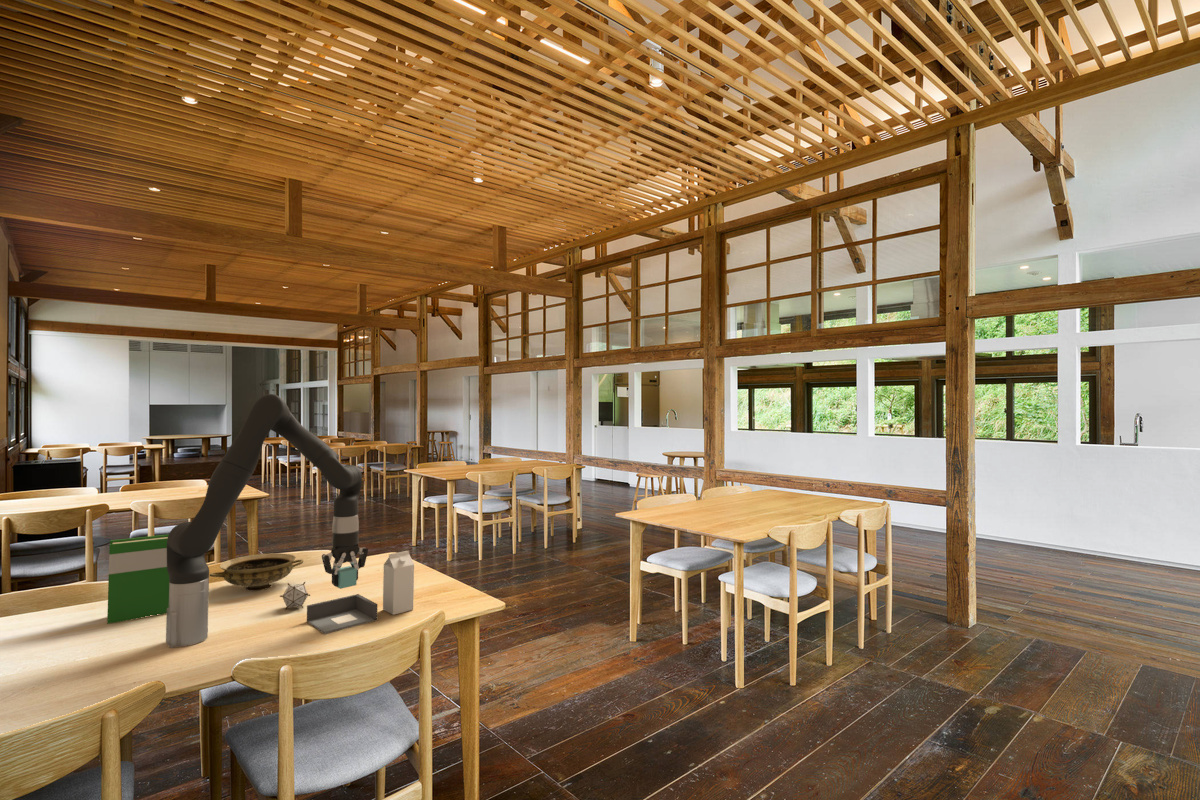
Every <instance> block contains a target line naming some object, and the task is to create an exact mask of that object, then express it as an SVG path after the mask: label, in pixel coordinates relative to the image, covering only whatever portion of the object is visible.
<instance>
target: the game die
mask: <svg viewBox="0 0 1200 800" xmlns="http://www.w3.org/2000/svg"><path fill="white" fill-rule="evenodd" d="M286 585H287V587H286V589H285V591H284V592H283V594H282V595H281V594H280V595H279V597H280V598H282V599H283V602H284V604H285V606H286V607H285V611H286V610H288V608H299V607H301V608H302V609H304V604H305V602H306V600H307V598H308V597H310V596H311V594H309V593H308V591H307V589H306V587H305V585H306V581H304V582H303V583H299V584H290V583H289V582H288V583H287V584H286Z"/></svg>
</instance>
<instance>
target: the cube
mask: <svg viewBox="0 0 1200 800" xmlns="http://www.w3.org/2000/svg"><path fill="white" fill-rule="evenodd" d="M338 575H339V577H338V586H337V587H336V588H338V589H340V590H341V589H346V588H350V587H355V586H357V581H358V580H357V569H355V568H353V567H351V565H348V566H347V565H346V566H343V567H341V568H340V569H339V572H338Z"/></svg>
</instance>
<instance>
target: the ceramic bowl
mask: <svg viewBox="0 0 1200 800" xmlns="http://www.w3.org/2000/svg"><path fill="white" fill-rule="evenodd" d="M303 563H304V559H302V558H300V559H297V558H296V556H295V555H293V554H289V553H282V552H281V553H280V552H279V553H278V552H277V553H276V552H275V553H274V552H271V553H257V554H250V555H245V556H239V557H236V558H232V559H228V560H226V561H224V562H222V563H220V564H219V568H220V569H221V570H223V571H221V572H219V571H218V572H211V573H209V577H213V578H222V579H224V580H225V582H227V583H229V584H231V585H233V586H234V585H235V586H239V587H246V588H245V590H246V591H249V592H250V591H252V592H253V591H254V592H256V591H263V590H267V589H269V588H271V587H272V584H273V583H277V582H278V581H280V580H282V579H284V578H286V577H288V575H289V574H291V572H292V571H293V568H295V567H297V566H300V565H302V564H303Z"/></svg>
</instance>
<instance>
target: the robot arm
mask: <svg viewBox="0 0 1200 800" xmlns="http://www.w3.org/2000/svg"><path fill="white" fill-rule="evenodd" d="M248 413H249V414H248V415H247V418H246V419H245V422H244V424H243V425H242V427H241V429H240V431H239V433H238V434H237V435H236V437H235V439H234V440H233V442H232V443H231V445H230V446H229V448H228V450H227V451H226V452H225V454H224V456H223V457H222V458H221V460H220V462H219V463H218V464H217V466H216V468H215V469H214V471H213V473H212V474H211V477H210V480H209V481H208V482H209V483H208V486H207V489H206V493H205V498H204V500H203V503H202V505H201V507H200V509H198V512H197V513H196V514H195V516H194V518H193V519H192V520H191V521H184V522H180V523H178V524H177V525H175V526H174V527H173V528H172V529H171V530H170V531H169V535H168V534H167V535H168V539H167V571H168V574H169V608H167V614H166V619H165V622H166V623H165V625H166V626H165V643H166V645H167V646H168V647H169V648H170V649H171V648H176V647H177V648H178V647H179V648H180V647H188V646H191V645H192V646H193V645H197V644H199V643H201V642H203V641H205V640H206V639H208V635H209V634H208V632H209V628H208V627H209V596H210V595H209V593H210V592H209V590H210V586H209V585H210V568H209V565H208V564H207V562H206V561H207V560H206V558H205V557H206V556H205V554H206V553H208V552H209V551H210V550H211V548H212V547H213V545H214V543H215V541H216V539H217V538H218V535H219V533H220V531H221V528H222V526H223V525H224V522H225V520H226V519H227V516H228V515H229V513H230V511H231V510H232V509H233V506H234V505H235V503H236V502H237V500H238V498H239V496H241V493H242V492H243V490H244V489H245V487H246V485H247V484H248V482H249V481H250V479H251V477H252V476H253V474H254V472H255V471H256V468H257V466H258V464H259V463H258V462H259V460H260V456H261V451H262V448H263V446H264V443H265V440H266V438H267V436H268V435H269V433H270V432H271V431H273V432H275V433H276V434H277V435H279V436H281V438H283V439H285V440H286V441H287V442H289V443H290V444H291V445H292V446H293V447H294V448H295V449H297V451H298V452H299V453H301V455H302V456H303V457H304V458H305V459H306V460H308V462H310V463H311V464H312V465H313V466H314V467H316V468H317V469H318V470H319V471H320V473H321V475H322V476H323V478H324V479H325V480H326V481H327V483H328V484H329V485H330V486H332V487H333V488H335V489H337V490H339V494H338V496H336V498H335V499H334V501H333V518H332V528H331V530H332V540H331V541H332V542H331V543H332V544H331V545H332V549H331V552H329V553H326V554H325V553H323V554H322V555H321V560H322V563H323V568H324V572H325V573H327V574H329V575H331V584H332V585H333V586H334V587H336V588H338V587H337V586H338V577H339V575H338V572H339V569H340V568H342V566H343V564H345V563H349V564H350V566H351V567H353V568H355V569H357V581H358V579H359V570H360V569H361V568H365V565H366V561H367V556H368V553H369V548H368V547H364V546H362V547H360V546H359V540H360V539H359V535H360V534H359V533H360V530H359V529H360V528H359V527H360V526H359V525H360V523H359V522H360V521H359V497H360V494H361V490H362V484H363V474H362V471H361V469H360V468H359V467H358V466H357V465H352V464H350V465H343V464H342V463H341V462H340V461H339V455H338V453H337V452H336V451H335V450H334V449H333V448H331V447H330V445H329V444H327V442H325V441H323V440H322V439H320V438H319V437H318V436H317V435H315V434H314V433H312V432H311V431H309V430H308V429H307V428H305V427H304V426H303V424H301V422H300V421H298V420H297V419H296V417H295V416H294V415H293V413H292V412H291V411H290V408H289V406H288V405H287V403H286V402H285V401H284V399H283V398H282V397H280V396H279V395H277V394H274V393H273V394H272V393H267V394H265V395H262V396H261V397H259V398H258V399H257V400H256V401H255V402H254V404H253V405H252V407H251V409H250V411H249V412H248ZM358 554H359V557H358V560H357V558H356V557H357V555H358ZM332 558H334V560H333V563H332V564H331V561H332ZM187 645H188V646H187Z"/></svg>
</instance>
